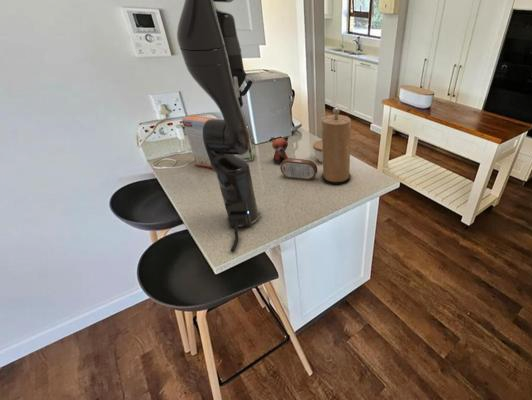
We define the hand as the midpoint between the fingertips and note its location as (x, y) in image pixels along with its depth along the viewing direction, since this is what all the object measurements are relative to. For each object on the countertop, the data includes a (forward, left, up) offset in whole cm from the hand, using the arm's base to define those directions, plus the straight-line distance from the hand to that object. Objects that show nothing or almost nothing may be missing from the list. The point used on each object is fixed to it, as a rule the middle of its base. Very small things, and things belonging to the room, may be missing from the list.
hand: (239, 107), depth 98 cm
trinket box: (+18, -29, -29) cm, 45 cm away
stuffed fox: (+18, -9, -29) cm, 35 cm away
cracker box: (+12, +19, -29) cm, 37 cm away
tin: (+1, -19, -29) cm, 35 cm away
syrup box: (+19, +7, -29) cm, 36 cm away
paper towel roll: (+1, -34, -29) cm, 45 cm away
